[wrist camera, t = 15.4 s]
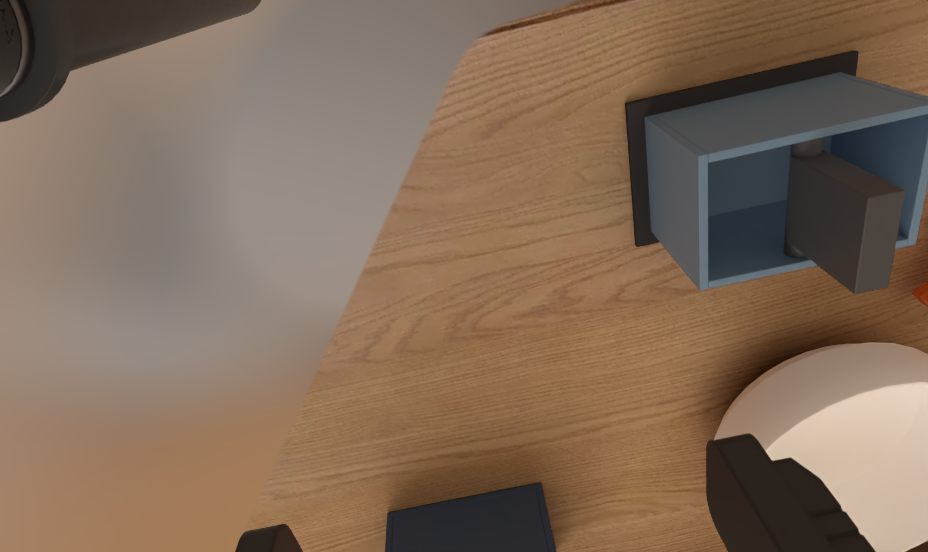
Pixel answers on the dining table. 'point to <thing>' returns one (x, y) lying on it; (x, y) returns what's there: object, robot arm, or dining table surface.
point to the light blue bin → (790, 181)
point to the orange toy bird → (922, 293)
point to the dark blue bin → (475, 524)
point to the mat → (701, 95)
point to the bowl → (850, 431)
